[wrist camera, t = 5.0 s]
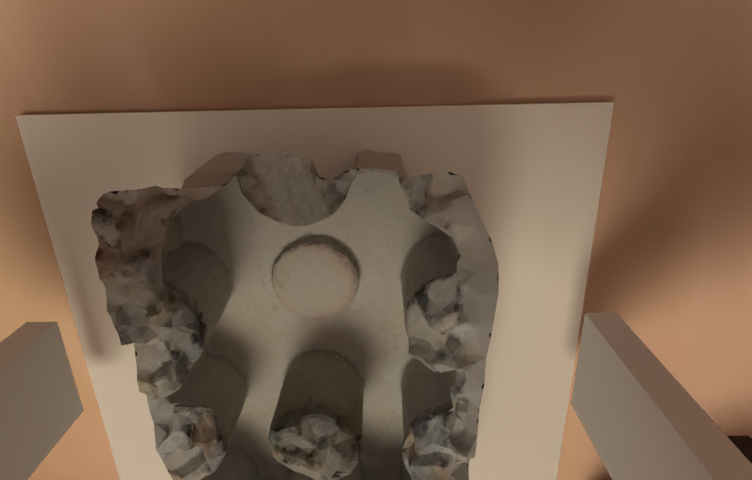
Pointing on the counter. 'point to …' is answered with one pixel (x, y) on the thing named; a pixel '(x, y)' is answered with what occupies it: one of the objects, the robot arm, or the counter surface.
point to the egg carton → (304, 317)
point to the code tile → (331, 157)
